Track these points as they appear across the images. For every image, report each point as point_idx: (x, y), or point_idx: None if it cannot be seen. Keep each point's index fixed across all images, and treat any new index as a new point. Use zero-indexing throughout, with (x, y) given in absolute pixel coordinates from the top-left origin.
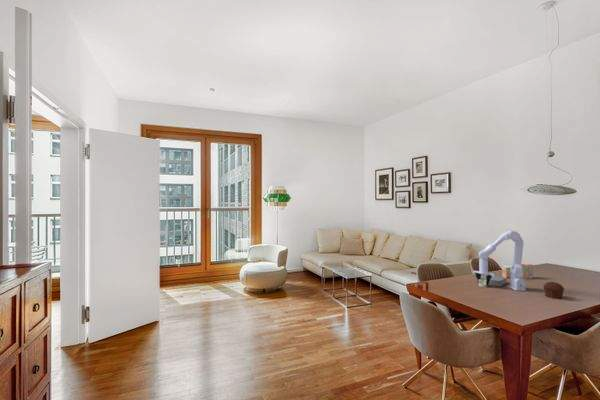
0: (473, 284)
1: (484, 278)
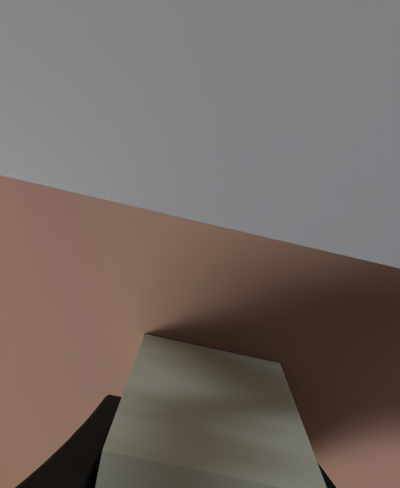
0: (15, 406)
1: (166, 190)
